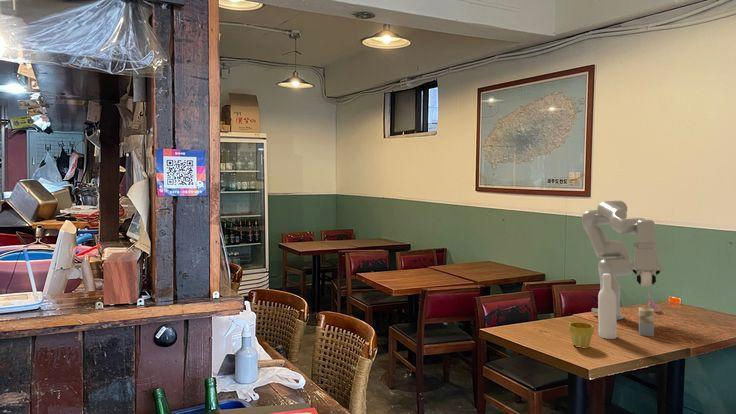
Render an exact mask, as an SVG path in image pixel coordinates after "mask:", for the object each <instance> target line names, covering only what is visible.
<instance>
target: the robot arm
mask: <svg viewBox="0 0 736 414" xmlns="http://www.w3.org/2000/svg"><path fill="white" fill-rule="evenodd" d="M627 212H628V206H627V204H626V203H625V201H622V200H605V201H602V202H600V203H599V204H598V205H597V209H590V210H586V211H585V212H583V214H582V217H581V223H582V227H583V229H584V231H585V232H586V234H587V236H588V237H589V241H590V242H591V246H592V248H593V251H594V253H595V255H596V256H597V258H599V259H602V260H600V261H598V264H597V269H598V274H599V275H598V276H599V282H600V284H599V285H600V287H599V288H600V290H602V289H603V278H602V276H603V274H611V289H612V290H613V291H614V292H615V295H616V320H617V321H619V320H623V319H624V318H625V317H624V315H623V314H622V313H621V285H620V284H621V283H620V282H619V280H618V279H617V277H621V276H622V277H625V276H630V275H632V274H635V275H636V282H637V284H638V285H640V271H641V270H651V271H652V284H653V285H655V284H656V283H657V276H658V275H659V274H660V273H661V272H663V271H664V270H665V268H664V267H663V266H662V264H661V263H659V253H658V249H657V248H656V239H655V238H656V233H655V232H656V228H655V227H656V225H655V221H654V220H652V219H645V218H640V217H639V218H636V217H635V218H627V217H628V213H627ZM600 225H601V226H602V225H604V226H605V225H610V227H611V228H612V230H613V231H615V232H617V233H618V234H621V235H631V234H632V235H636V242H635V243H632V244H633V247H635V249H634V254H633V255H634V256H633V261H632V258H631V255H630V253H629V251H628V248H627V246H626V245H625V243H624V242H623V241H621V240H618V239H617V240H616V239H615V240H611V239H609V238H608V236H607V234H606V232H605V231H604V229H602V228H601V227H599V226H600ZM600 290H599V291H600ZM591 312H593V313H595V314H598V308H594V307H592V308H591Z"/></svg>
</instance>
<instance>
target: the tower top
mask: <svg viewBox="0 0 736 414" xmlns="http://www.w3.org/2000/svg"><path fill="white" fill-rule="evenodd" d="M639 322H640V323H650V324H654V325H655V310H654V307H643V306H642V307H641V306H638V323H639Z"/></svg>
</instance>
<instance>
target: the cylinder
mask: <svg viewBox="0 0 736 414" xmlns="http://www.w3.org/2000/svg"><path fill="white" fill-rule="evenodd" d="M652 275H653V272H652V270H641V271H640V284H639V285H640V286H641V287H648V288H649V287H653V284H652Z"/></svg>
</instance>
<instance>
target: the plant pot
mask: <svg viewBox="0 0 736 414" xmlns="http://www.w3.org/2000/svg"><path fill="white" fill-rule="evenodd" d="M594 327H595V326H594V324H591V323H588V322H583V321H573V322H570V323H569V324H568V332H569V333H570V338H571V342H572V345H573V344H574V345H576V346H580V347H588V346H589V347H590V344H591V340H592V336H593V335H594V329H595V328H594Z"/></svg>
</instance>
